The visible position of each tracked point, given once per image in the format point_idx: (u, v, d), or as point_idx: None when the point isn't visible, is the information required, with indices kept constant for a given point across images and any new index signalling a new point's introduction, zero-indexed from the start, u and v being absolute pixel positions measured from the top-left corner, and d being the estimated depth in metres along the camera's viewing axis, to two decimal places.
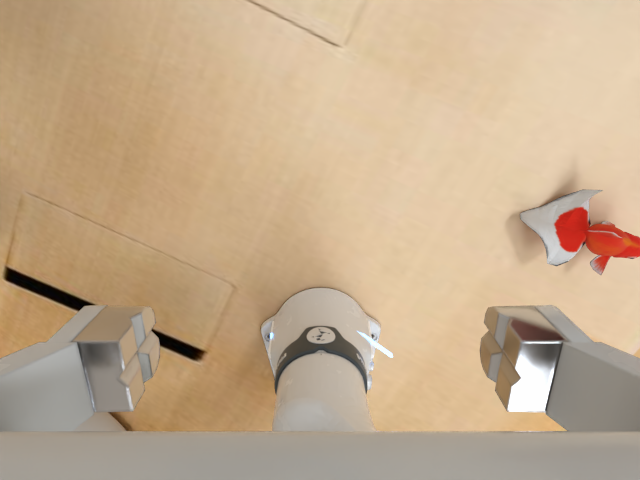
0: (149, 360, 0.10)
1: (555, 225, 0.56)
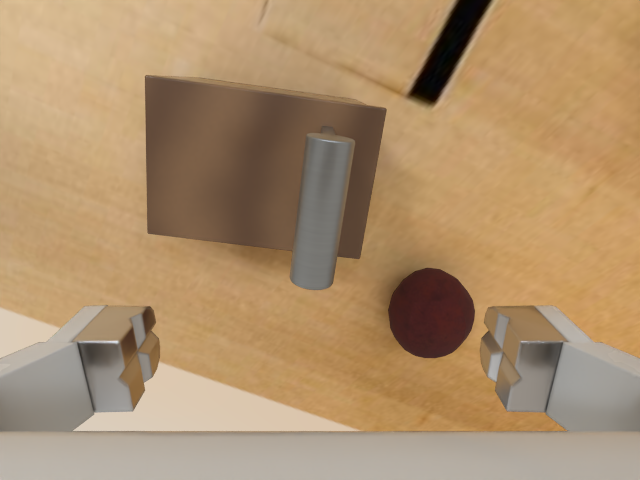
0: (149, 360, 0.10)
1: None
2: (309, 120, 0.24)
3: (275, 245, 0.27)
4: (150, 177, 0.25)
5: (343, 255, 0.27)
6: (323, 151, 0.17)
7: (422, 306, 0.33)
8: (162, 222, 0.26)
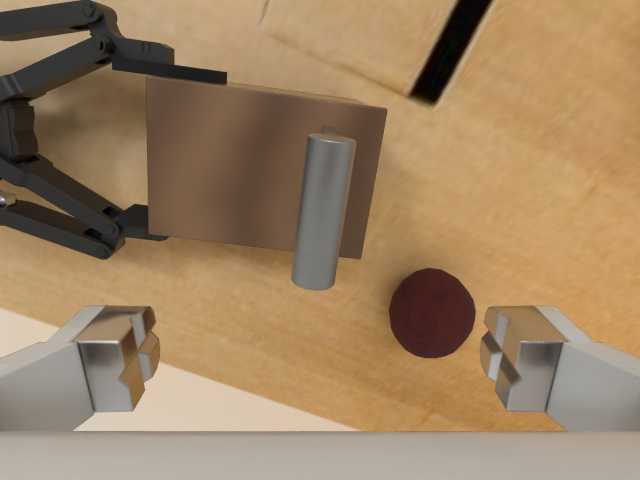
0: (149, 360, 0.10)
1: None
2: (310, 120, 0.24)
3: (276, 245, 0.27)
4: (150, 178, 0.25)
5: (344, 255, 0.27)
6: (324, 151, 0.17)
7: (422, 306, 0.33)
8: (163, 222, 0.26)
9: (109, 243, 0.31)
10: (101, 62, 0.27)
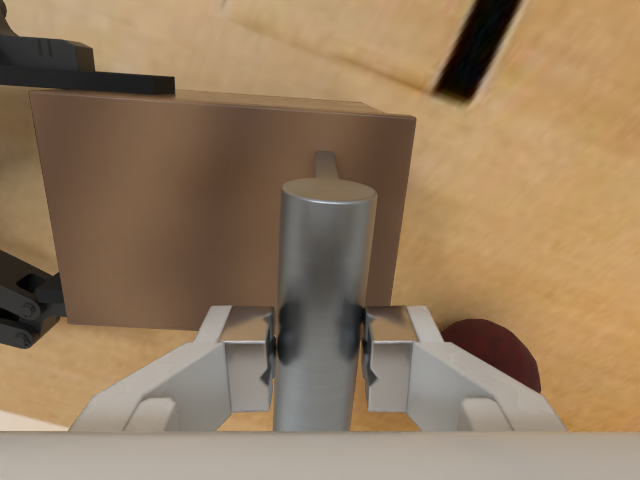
0: (274, 360, 0.10)
1: None
2: (295, 143, 0.15)
3: None
4: (59, 245, 0.17)
5: (360, 337, 0.18)
6: (315, 223, 0.08)
7: None
8: (87, 307, 0.18)
9: (31, 326, 0.22)
10: None
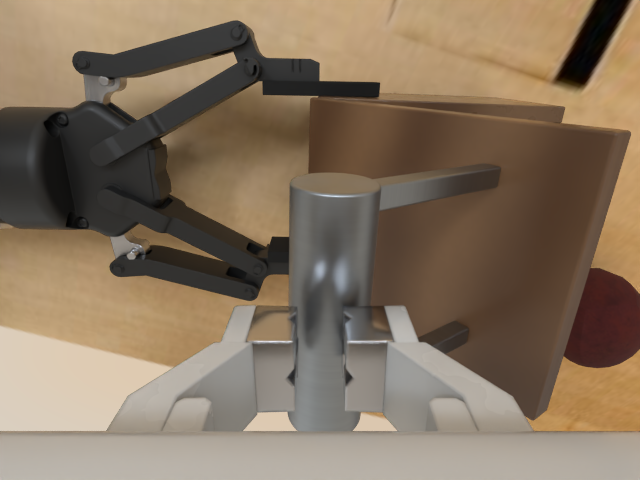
0: (297, 360, 0.10)
1: None
2: (464, 153, 0.14)
3: None
4: None
5: None
6: (292, 205, 0.10)
7: (597, 313, 0.30)
8: None
9: (254, 283, 0.28)
10: (240, 88, 0.25)
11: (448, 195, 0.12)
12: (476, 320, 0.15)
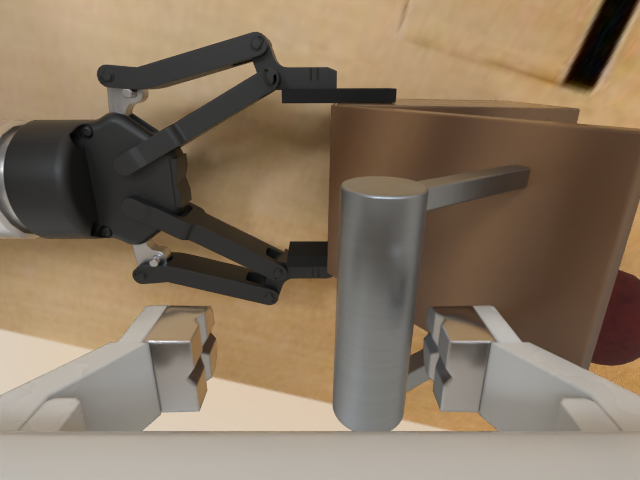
0: (210, 360, 0.10)
1: None
2: (492, 155, 0.15)
3: None
4: (330, 214, 0.23)
5: None
6: (344, 208, 0.10)
7: (610, 311, 0.30)
8: (337, 264, 0.24)
9: (273, 287, 0.29)
10: None
11: (483, 196, 0.12)
12: (506, 317, 0.15)
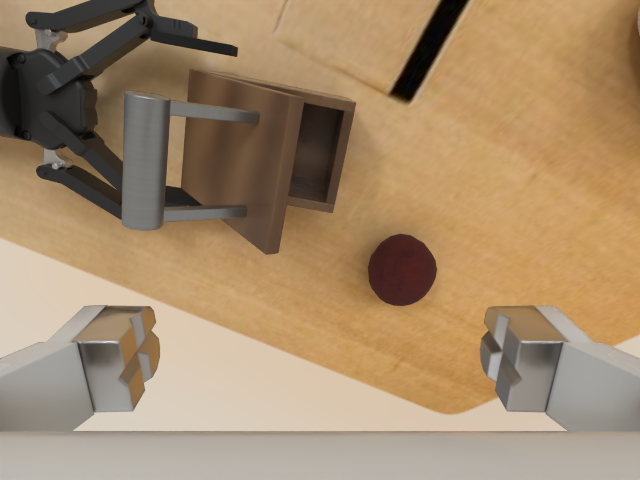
0: (149, 360, 0.10)
1: None
2: (248, 105, 0.26)
3: (225, 219, 0.29)
4: (184, 145, 0.34)
5: (257, 245, 0.26)
6: (125, 101, 0.21)
7: (393, 261, 0.42)
8: (185, 180, 0.34)
9: None
10: (143, 38, 0.35)
11: (220, 119, 0.23)
12: (249, 202, 0.27)
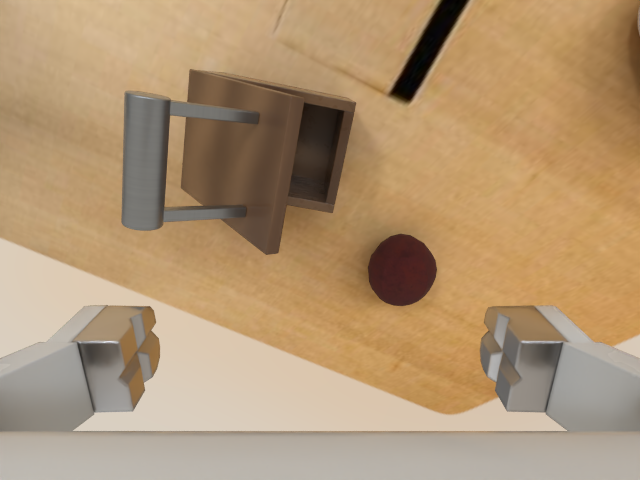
0: (149, 360, 0.10)
1: None
2: (248, 105, 0.26)
3: (225, 219, 0.29)
4: (184, 145, 0.34)
5: (257, 246, 0.26)
6: (125, 101, 0.21)
7: (393, 261, 0.42)
8: (185, 180, 0.34)
9: None
10: None
11: (220, 119, 0.23)
12: (249, 202, 0.27)
